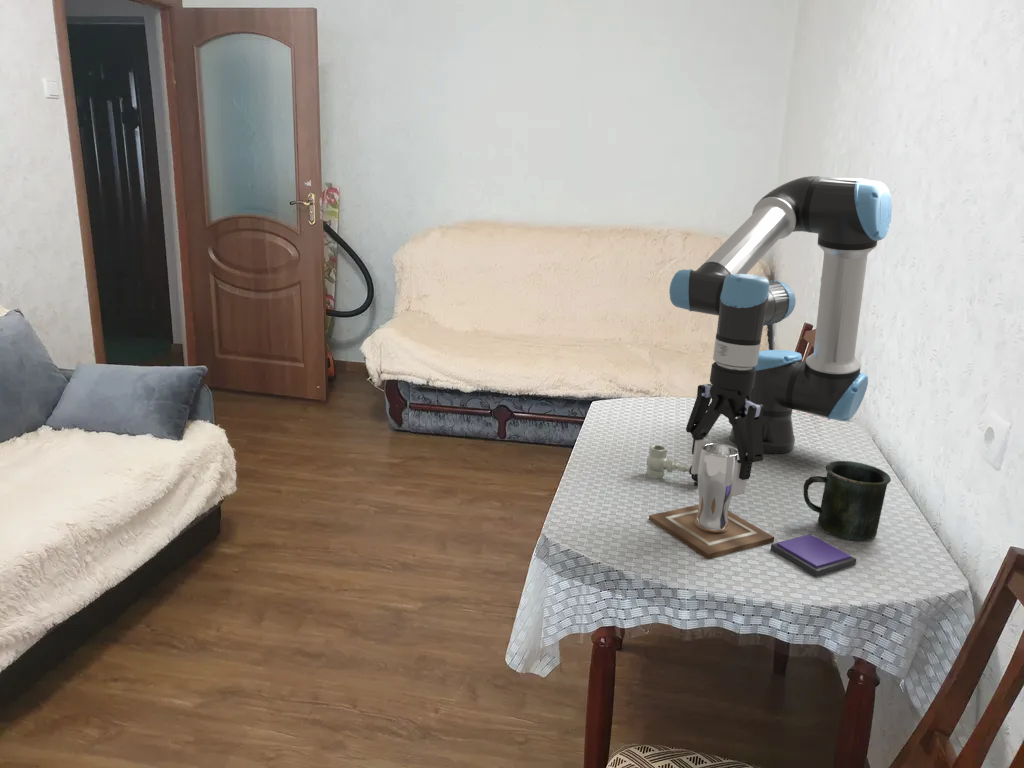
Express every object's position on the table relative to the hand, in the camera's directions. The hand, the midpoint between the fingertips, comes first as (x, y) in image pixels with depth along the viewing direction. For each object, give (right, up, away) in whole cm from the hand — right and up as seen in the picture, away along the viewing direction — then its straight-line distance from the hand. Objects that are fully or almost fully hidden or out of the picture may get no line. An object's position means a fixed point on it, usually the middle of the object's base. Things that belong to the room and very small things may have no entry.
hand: (716, 483), depth 140 cm
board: (-1, -9, +3) cm, 10 cm away
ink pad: (+15, -12, -5) cm, 20 cm away
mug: (+25, -10, +7) cm, 27 cm away
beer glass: (0, -8, +2) cm, 9 cm away
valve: (-3, -3, +25) cm, 25 cm away
